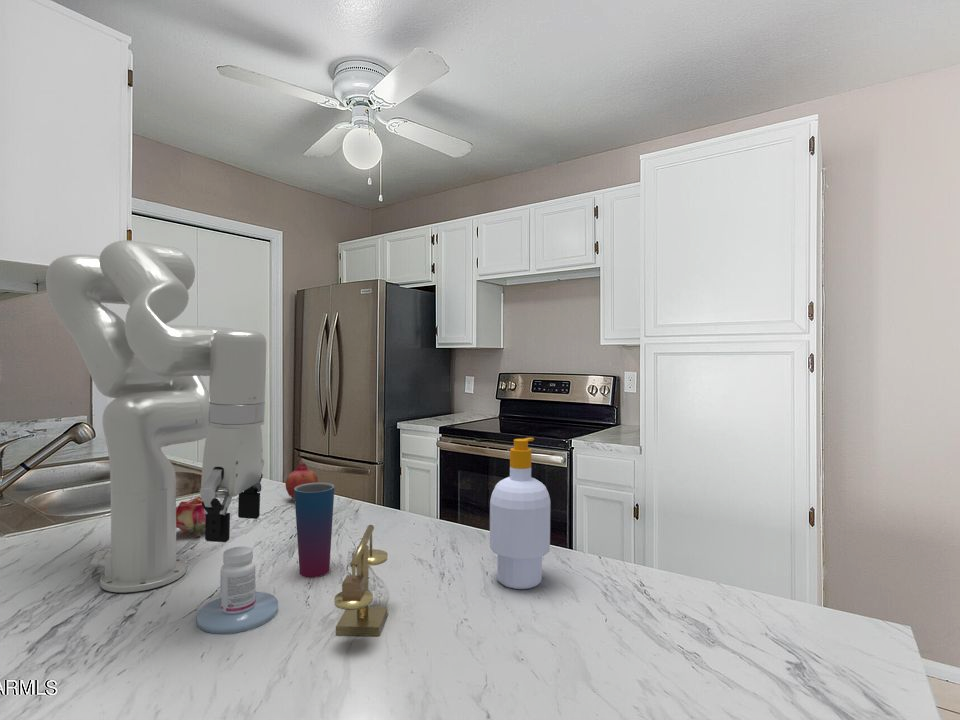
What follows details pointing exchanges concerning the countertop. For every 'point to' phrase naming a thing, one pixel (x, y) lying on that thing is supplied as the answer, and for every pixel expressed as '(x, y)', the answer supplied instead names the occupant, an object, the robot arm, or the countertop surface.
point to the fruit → (300, 478)
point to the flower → (191, 516)
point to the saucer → (237, 615)
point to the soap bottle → (520, 522)
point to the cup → (314, 527)
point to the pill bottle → (237, 580)
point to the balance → (361, 593)
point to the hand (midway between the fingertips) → (233, 528)
